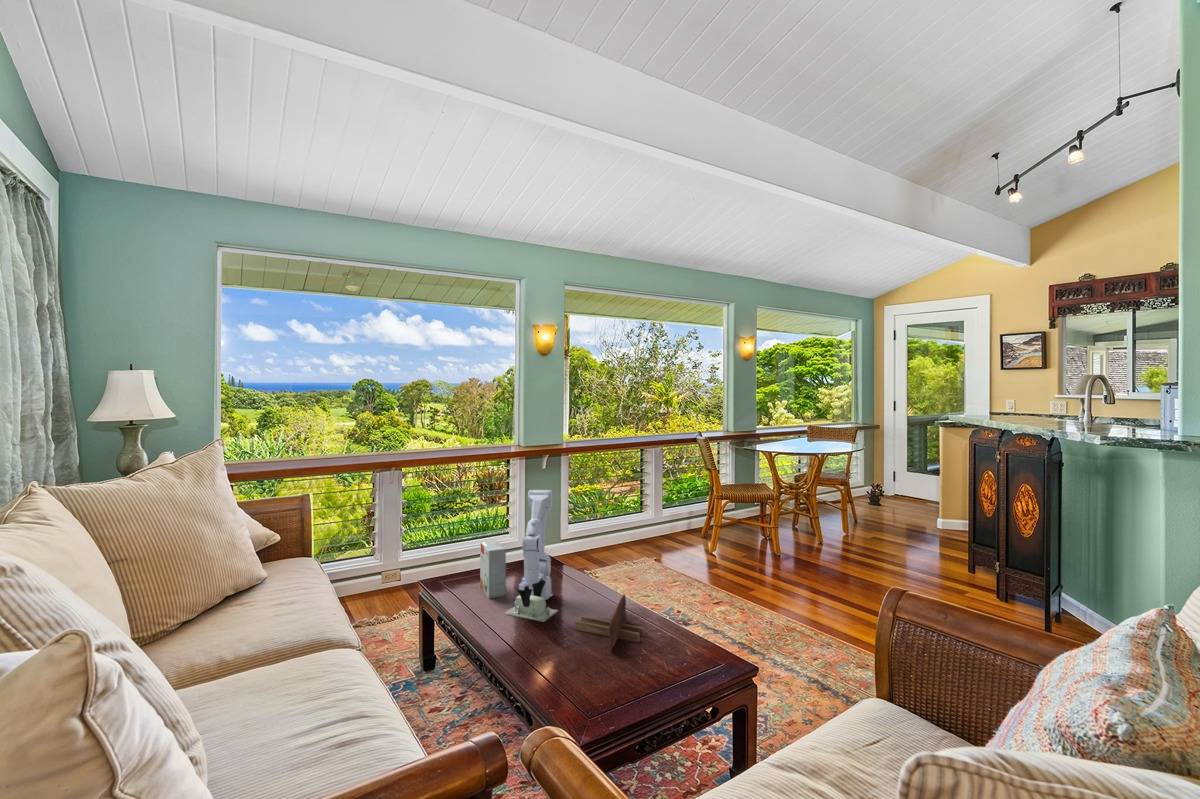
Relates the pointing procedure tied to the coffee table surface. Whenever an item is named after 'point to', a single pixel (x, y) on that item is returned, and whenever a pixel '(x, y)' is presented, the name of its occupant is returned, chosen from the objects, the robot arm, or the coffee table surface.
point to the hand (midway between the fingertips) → (531, 603)
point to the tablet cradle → (603, 628)
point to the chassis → (532, 613)
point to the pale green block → (532, 604)
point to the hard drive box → (493, 568)
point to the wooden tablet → (617, 621)
